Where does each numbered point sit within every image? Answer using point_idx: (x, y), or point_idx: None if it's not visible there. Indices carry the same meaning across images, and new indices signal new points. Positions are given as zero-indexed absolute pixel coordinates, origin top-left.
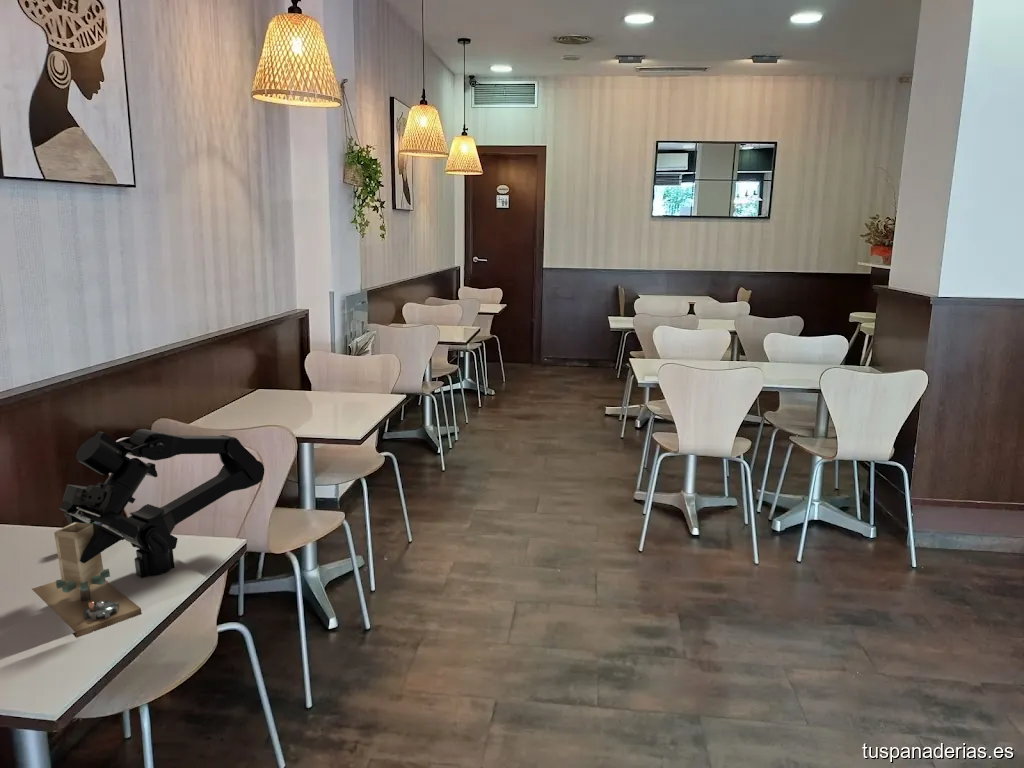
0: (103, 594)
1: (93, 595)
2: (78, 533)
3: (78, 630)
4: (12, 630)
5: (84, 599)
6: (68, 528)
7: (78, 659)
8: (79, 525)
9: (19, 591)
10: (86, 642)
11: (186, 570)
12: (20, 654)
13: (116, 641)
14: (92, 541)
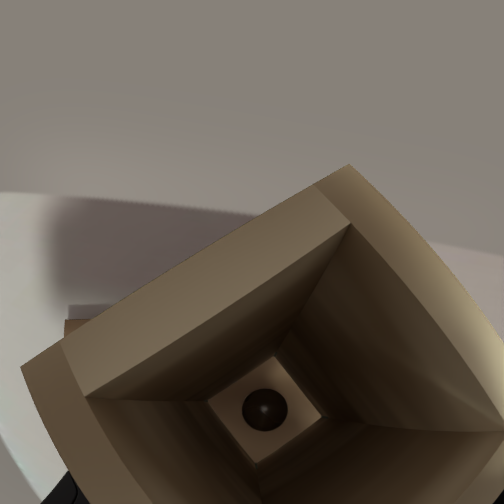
0: (253, 457)
1: (270, 431)
2: (39, 405)
3: (66, 327)
4: (236, 219)
5: (244, 399)
6: (438, 348)
7: (2, 297)
8: (453, 487)
9: (454, 266)
10: (41, 333)
11: None
12: (102, 217)
13: (5, 378)
14: (60, 493)
